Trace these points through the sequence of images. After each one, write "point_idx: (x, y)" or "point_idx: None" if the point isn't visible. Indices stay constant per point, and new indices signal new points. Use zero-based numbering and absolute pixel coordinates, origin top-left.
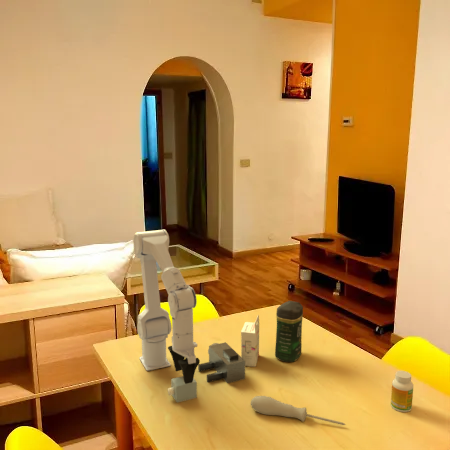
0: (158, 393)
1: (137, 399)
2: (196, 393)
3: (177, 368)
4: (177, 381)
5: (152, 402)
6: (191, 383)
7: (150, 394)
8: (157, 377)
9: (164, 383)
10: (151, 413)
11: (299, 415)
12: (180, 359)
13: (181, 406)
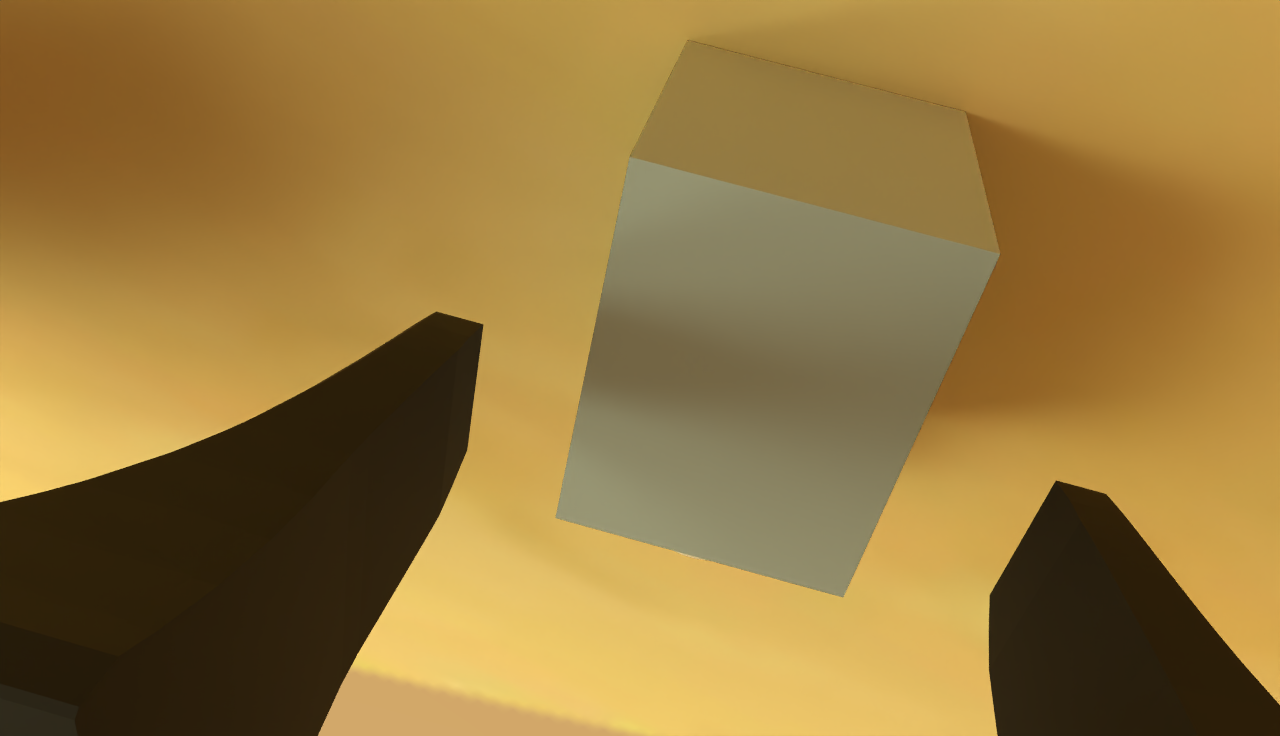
0: (492, 446)
1: (483, 645)
2: (971, 147)
3: (449, 471)
4: (707, 499)
5: (637, 585)
6: (948, 349)
7: (461, 517)
8: (83, 244)
9: (286, 260)
10: (828, 691)
11: None
12: (350, 541)
13: (978, 417)
